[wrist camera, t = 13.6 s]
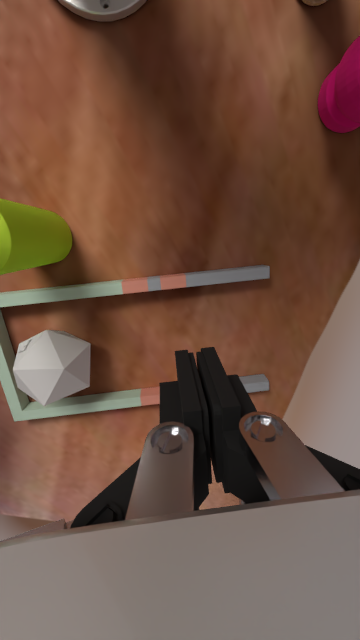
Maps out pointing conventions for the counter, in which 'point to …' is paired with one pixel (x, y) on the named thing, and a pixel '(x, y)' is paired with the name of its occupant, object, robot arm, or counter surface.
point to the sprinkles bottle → (314, 2)
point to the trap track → (3, 355)
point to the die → (52, 366)
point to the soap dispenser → (31, 237)
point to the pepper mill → (342, 93)
